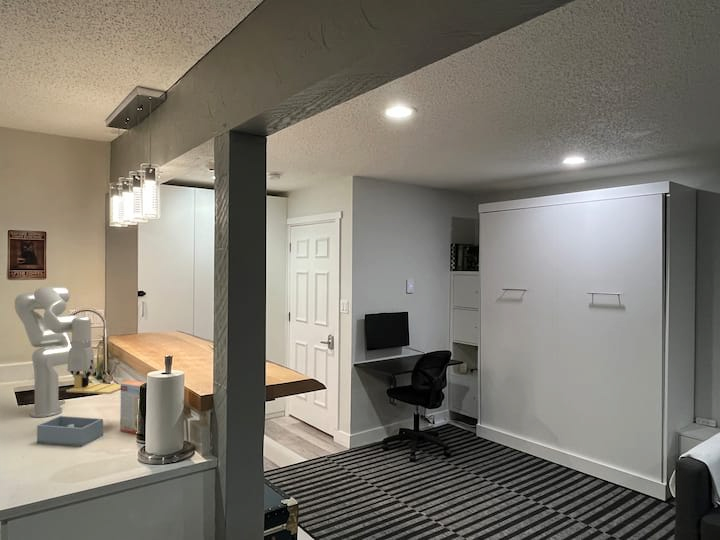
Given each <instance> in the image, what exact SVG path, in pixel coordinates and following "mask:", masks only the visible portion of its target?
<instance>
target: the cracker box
mask: <svg viewBox="0 0 720 540" xmlns="http://www.w3.org/2000/svg"><path fill="white" fill-rule="evenodd" d="M144 383H145V382H144V381H143V382H142V381H137V380H136V381H135V380H128V381H124V382H121V383H120V385H121V390H120V411H119V413H120V415H119V417H120V418H119V419H120V421H119V423H120V425H119V429H120V430H119V431H120V432H124V433H125V432H126V433H130V434H134V435H137V434H136V432H137V415H138V399H139V389H140V386H141V385H142V384H144Z"/></svg>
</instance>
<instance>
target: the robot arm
mask: <svg viewBox="0 0 720 540" xmlns="http://www.w3.org/2000/svg"><path fill="white" fill-rule="evenodd" d="M70 297H71V294H70V290H69V289H68V288H67V287H65V286H63V285H55V286H52V285H51V286H41V287H38V288H36V289H35V291H34V292H33V291H32V292H31V291H30V292H24V293H20V294H18V295H17V296H16V297H15V299H14V310H15V313H16V315H17V316H18V318H19V319H20V321H21V322H22V324H23V326H24V329H25V332H26V335H27V338H28V340H29V342H30V345H31V346H32V347H33V348H36V349H35V350H34V352H32V354H31V361H32V365H33V373H34V410H33V411H31V412H30V416H31V417H33V418H46V417H47V416H48V417H53V416H55V415H59V414H61V413H62V412H63V408H62V407H61V406H63V405H65V404H66V400H64V399H63V400H60V401H59V373H58V372H57V371H56V370H55V369H54V367H56V366H62V365H63V366H64V365H67V369H66V370H67V372H69V373H70V374H71V375H72V378H74V375H77V374H80V373H81V372H82V373H83V377H84V378H82V387H85V386H88V383H90V382H89V380H90V379H89V377H90V376H91V375H92V374H93V373H95V372H96V368H95V354H94V348H93V347H92V319H91V317H90V316H83V315H81V314H74V315H72V314H71V315H62V314H63V313H64V312H65V311H66V310H67V309H66V308H67V302H69V300H70ZM35 310H44V312H43V313H44V314H43V316H42V315H41V314H40V313H38V312H37V311H35ZM59 315H60V316H59ZM69 333H71V338H70V335H69ZM52 415H53V416H52Z"/></svg>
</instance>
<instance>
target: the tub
mask: <svg viewBox="0 0 720 540" xmlns="http://www.w3.org/2000/svg"><path fill="white" fill-rule="evenodd" d="M103 435H104V419H103V418H96V417H95V418H92V417H79V416H66V415H65V416H63V415H58V416H57V417H54V418H52V419H49V420H48V421H45V422H42V423H40V424H37V426H36V443H38V444H45V443H49V444H48V445H58V444H62V446H71V445H79V446H78V447H84V446H86V445H88V444H89V442H90V443H92V442H94V441H95V440H97V439H100V438H101V437H103ZM91 441H92V442H91ZM87 443H88V444H87ZM85 444H86V445H85ZM83 445H84V446H83Z"/></svg>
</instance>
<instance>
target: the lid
mask: <svg viewBox="0 0 720 540" xmlns="http://www.w3.org/2000/svg"><path fill="white" fill-rule="evenodd" d="M82 378H84V377H83V372H82V373H81V372H80V374H77V375H74V377H73V381H74V386H73V387H71V388H68V389H66V390H65V391H66V392H65V393H78V394H79V393H80V394H81V393H82V394H99V395H100V394H101V395H102V394H103V395H111V394H113V393H116V392H118V391H121V383H120V384H119V383H118V384H116V383H114V382H113V383H103V382H99V383H96V382H95V383H93V382H89V383H88V386H85V387H82Z"/></svg>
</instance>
